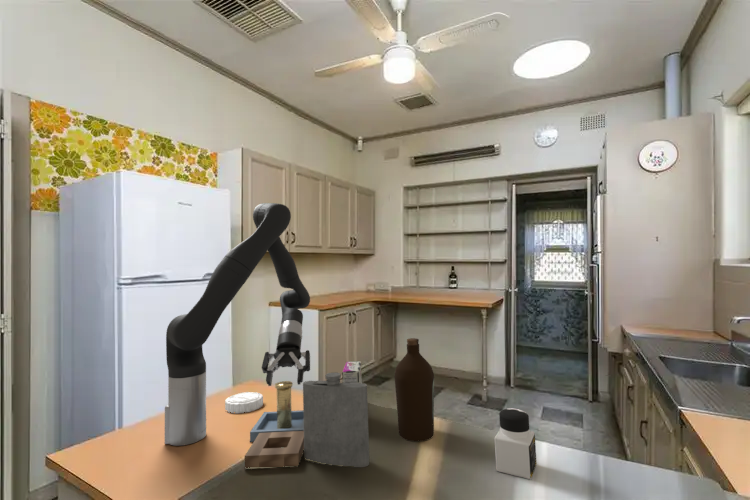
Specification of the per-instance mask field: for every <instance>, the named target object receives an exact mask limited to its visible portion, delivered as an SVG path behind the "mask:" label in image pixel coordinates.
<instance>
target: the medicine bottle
mask: <svg viewBox="0 0 750 500" xmlns="http://www.w3.org/2000/svg"><path fill="white" fill-rule="evenodd" d="M498 417H499V430H498V432H497V433H496V435H495V436H494V451H495V470H496V472H500V473H503V474H508V475H512V476H515V477H519V478H523V479H527V480H532V478H533V475H534V472H535V469H536V466H537V465H538V464H537V463H538V462H537V449H536V432H535V431H534V430H530V417H529V414H528V413H527V412H526V411H524V410H522V409H518V408H512V407H509V408H508V407H507V408H504V409H502V410H500V411H499V416H498Z"/></svg>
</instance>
